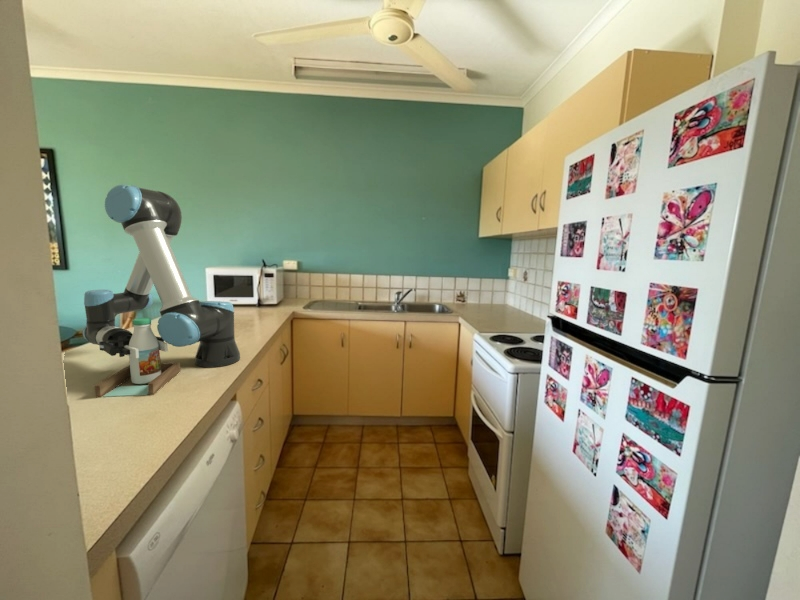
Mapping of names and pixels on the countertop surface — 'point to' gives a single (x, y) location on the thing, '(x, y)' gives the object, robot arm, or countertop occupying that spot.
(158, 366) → the milk bottle
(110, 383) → the bay
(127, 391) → the pad
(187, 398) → the countertop surface
